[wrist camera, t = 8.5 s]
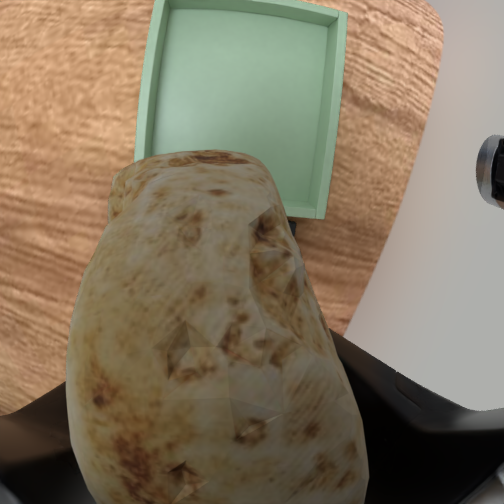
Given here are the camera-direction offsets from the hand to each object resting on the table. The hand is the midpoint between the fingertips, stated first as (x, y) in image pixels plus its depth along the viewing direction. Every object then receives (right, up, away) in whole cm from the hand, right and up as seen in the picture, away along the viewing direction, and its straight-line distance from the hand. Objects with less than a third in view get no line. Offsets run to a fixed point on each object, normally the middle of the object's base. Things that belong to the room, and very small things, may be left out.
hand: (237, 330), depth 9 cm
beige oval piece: (0, +1, +3) cm, 3 cm away
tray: (0, +12, +8) cm, 14 cm away
